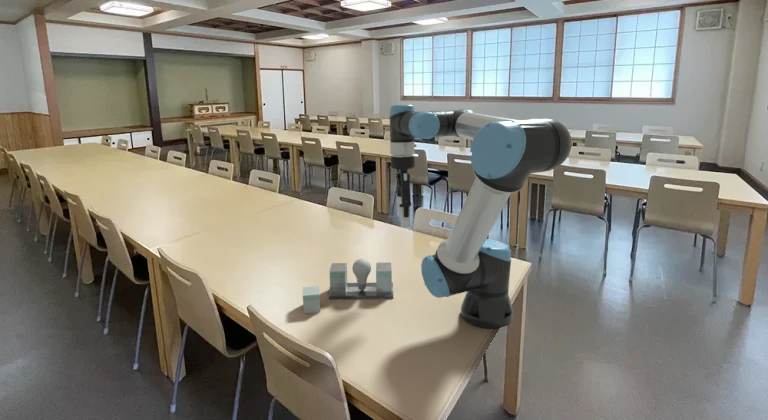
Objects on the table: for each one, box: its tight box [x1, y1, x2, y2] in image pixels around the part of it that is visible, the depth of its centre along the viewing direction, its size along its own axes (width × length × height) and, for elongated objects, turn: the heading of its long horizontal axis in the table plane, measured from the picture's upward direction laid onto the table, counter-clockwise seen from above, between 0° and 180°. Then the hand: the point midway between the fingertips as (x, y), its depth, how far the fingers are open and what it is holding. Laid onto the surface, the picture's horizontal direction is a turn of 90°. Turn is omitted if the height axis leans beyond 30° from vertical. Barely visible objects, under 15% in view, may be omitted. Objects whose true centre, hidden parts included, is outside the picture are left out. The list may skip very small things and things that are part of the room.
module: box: [302, 285, 321, 314], centre depth 137 cm, size 6×5×6 cm
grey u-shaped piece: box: [328, 261, 394, 300], centre depth 148 cm, size 10×21×9 cm, turn 90°
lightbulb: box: [352, 258, 372, 290], centre depth 146 cm, size 6×6×11 cm
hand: (403, 221), depth 144 cm, fingers open, 13 cm apart
